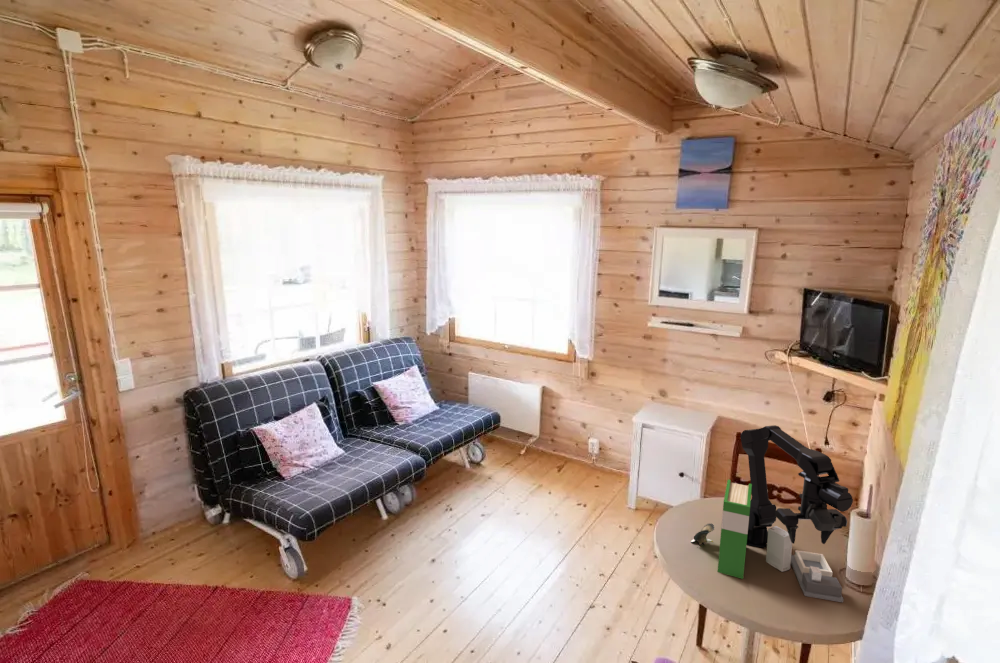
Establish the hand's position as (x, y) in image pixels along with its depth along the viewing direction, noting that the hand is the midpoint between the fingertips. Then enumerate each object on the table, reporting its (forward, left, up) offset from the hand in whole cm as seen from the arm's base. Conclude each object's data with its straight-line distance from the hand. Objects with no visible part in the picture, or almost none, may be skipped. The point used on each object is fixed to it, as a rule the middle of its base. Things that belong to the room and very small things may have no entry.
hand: (807, 543), depth 160 cm
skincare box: (-6, +6, -13) cm, 16 cm away
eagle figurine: (-29, +9, -13) cm, 33 cm away
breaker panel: (+3, +2, -13) cm, 13 cm away
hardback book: (-20, +5, -13) cm, 24 cm away
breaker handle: (+1, -5, -8) cm, 10 cm away
